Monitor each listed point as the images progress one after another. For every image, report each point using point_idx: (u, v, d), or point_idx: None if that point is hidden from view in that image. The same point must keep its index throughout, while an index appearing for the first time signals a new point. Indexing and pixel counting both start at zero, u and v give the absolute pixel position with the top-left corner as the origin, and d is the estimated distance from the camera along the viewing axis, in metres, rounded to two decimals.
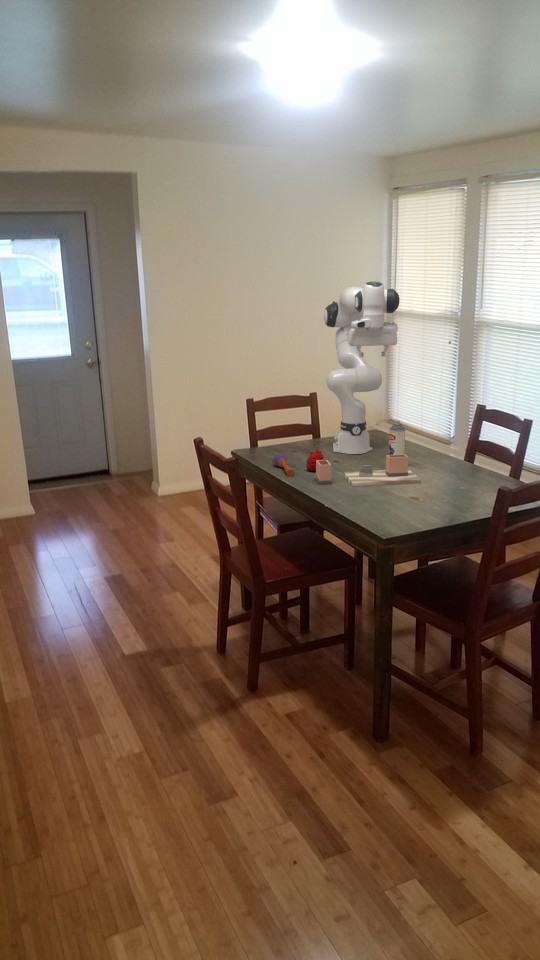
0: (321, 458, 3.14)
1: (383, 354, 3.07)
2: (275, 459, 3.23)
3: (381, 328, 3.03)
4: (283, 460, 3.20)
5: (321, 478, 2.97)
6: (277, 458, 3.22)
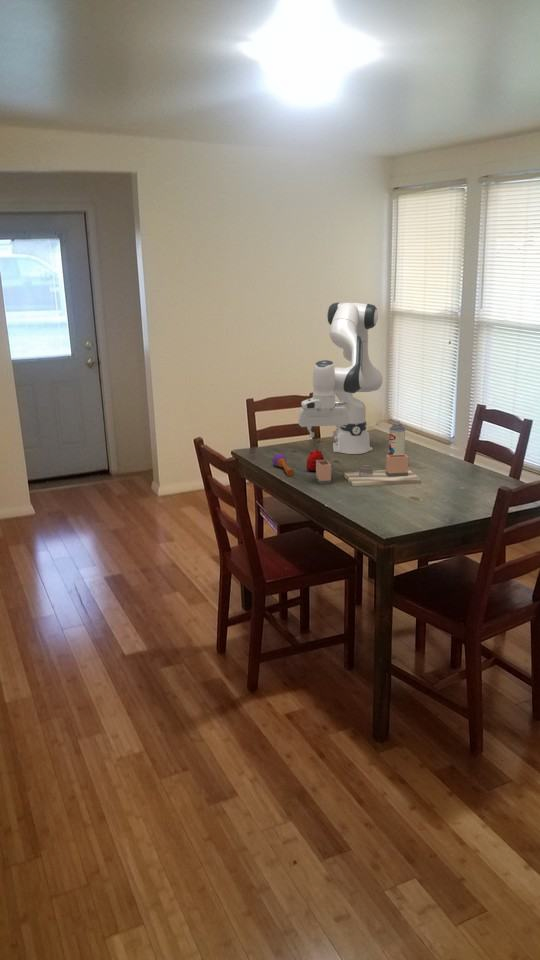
0: (321, 458, 3.14)
1: (335, 434, 2.96)
2: (275, 459, 3.22)
3: (332, 408, 2.92)
4: (283, 460, 3.20)
5: (321, 478, 2.97)
6: (277, 458, 3.22)
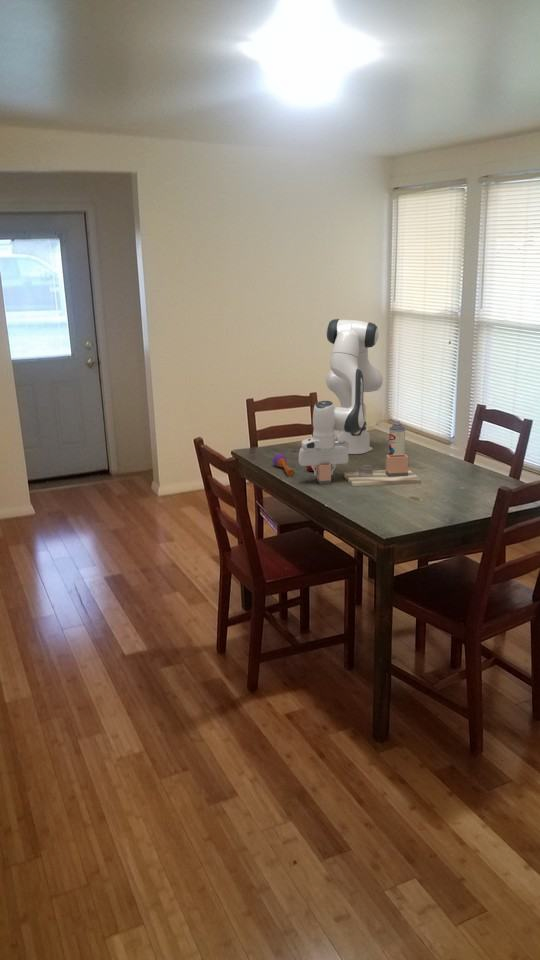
0: None
1: None
2: (275, 459, 3.22)
3: (332, 448, 2.96)
4: (283, 460, 3.20)
5: (321, 478, 2.97)
6: (277, 458, 3.22)
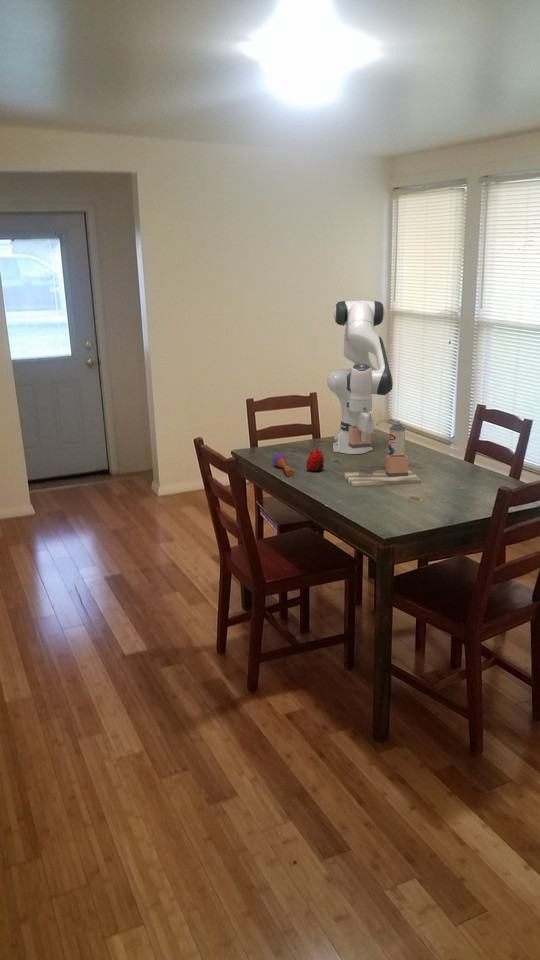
0: (321, 458, 3.14)
1: (360, 439, 2.95)
2: (275, 459, 3.22)
3: (359, 413, 2.91)
4: (283, 460, 3.19)
5: (349, 440, 2.98)
6: (277, 458, 3.21)
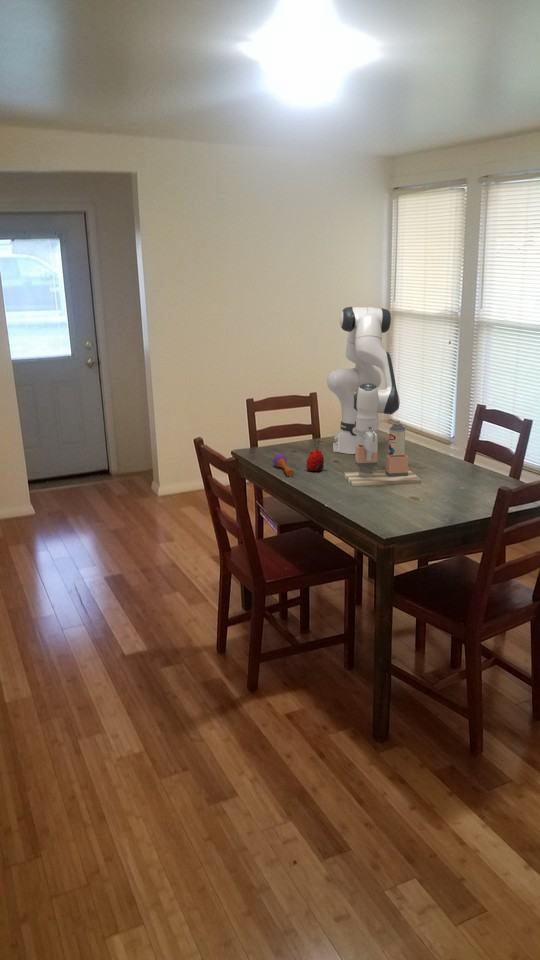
0: (321, 458, 3.14)
1: (366, 458, 2.97)
2: (275, 459, 3.22)
3: (364, 432, 2.94)
4: (283, 460, 3.19)
5: (355, 458, 3.01)
6: (277, 458, 3.21)
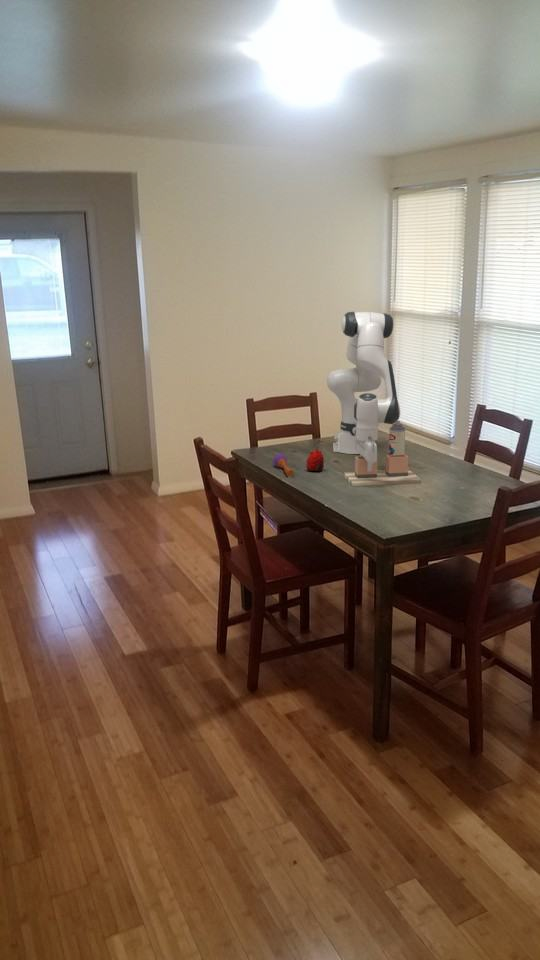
0: (321, 458, 3.14)
1: None
2: (275, 460, 3.22)
3: (364, 442, 2.95)
4: (283, 461, 3.19)
5: (355, 470, 3.03)
6: (277, 459, 3.21)
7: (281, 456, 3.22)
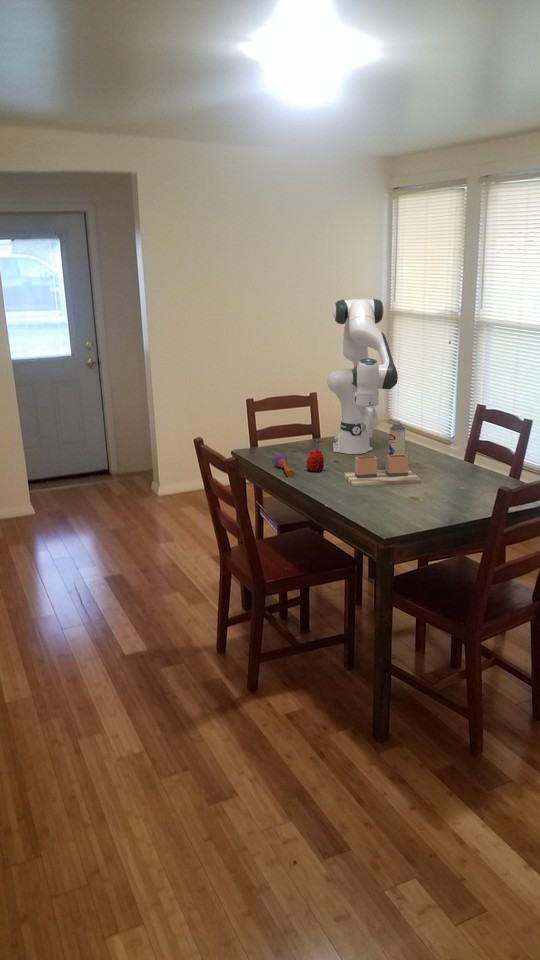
0: (321, 458, 3.14)
1: (367, 434, 2.93)
2: (275, 460, 3.22)
3: (365, 407, 2.91)
4: (283, 461, 3.19)
5: (355, 470, 3.03)
6: (277, 459, 3.21)
7: (281, 456, 3.21)
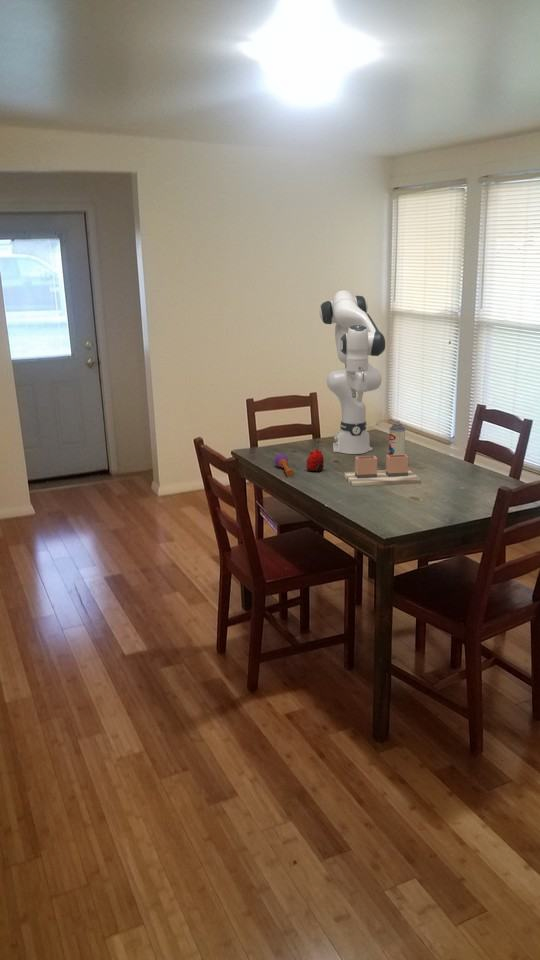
0: (321, 458, 3.14)
1: (357, 399, 3.01)
2: (276, 460, 3.22)
3: (354, 373, 2.99)
4: (284, 461, 3.19)
5: (355, 470, 3.03)
6: (278, 459, 3.21)
7: (282, 456, 3.21)
